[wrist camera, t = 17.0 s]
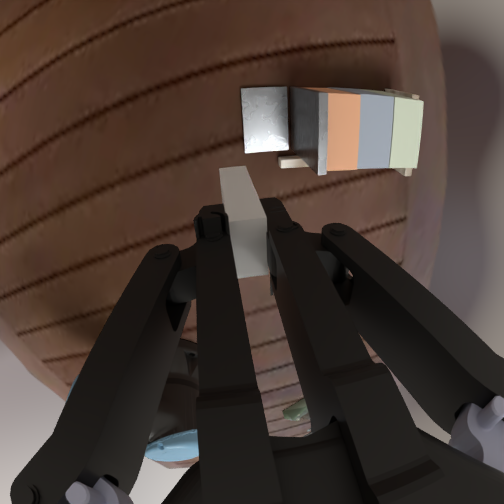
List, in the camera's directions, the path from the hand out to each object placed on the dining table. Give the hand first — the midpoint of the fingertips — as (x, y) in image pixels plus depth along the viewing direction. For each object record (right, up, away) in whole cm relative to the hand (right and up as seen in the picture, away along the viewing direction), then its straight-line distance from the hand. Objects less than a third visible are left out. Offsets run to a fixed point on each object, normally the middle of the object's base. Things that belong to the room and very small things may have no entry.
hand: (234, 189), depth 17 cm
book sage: (+18, +16, +22) cm, 33 cm away
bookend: (+4, +14, +21) cm, 25 cm away
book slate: (+14, +16, +22) cm, 30 cm away
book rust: (+9, +15, +21) cm, 28 cm away
